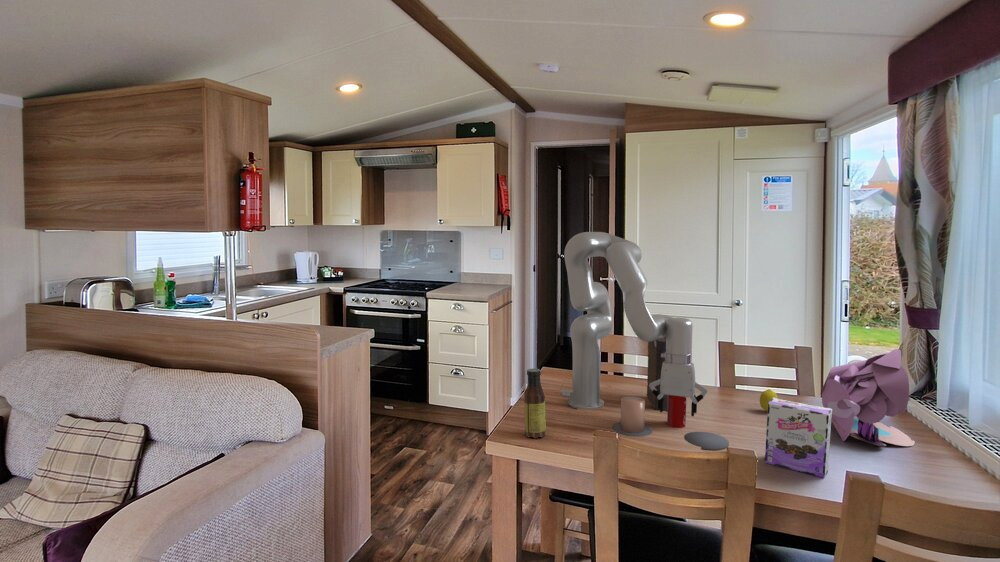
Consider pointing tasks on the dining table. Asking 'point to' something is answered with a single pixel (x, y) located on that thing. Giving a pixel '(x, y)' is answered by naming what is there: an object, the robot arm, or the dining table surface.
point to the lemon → (767, 398)
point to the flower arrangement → (868, 398)
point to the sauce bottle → (534, 405)
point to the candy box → (798, 436)
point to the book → (656, 370)
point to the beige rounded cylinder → (632, 414)
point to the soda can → (676, 411)
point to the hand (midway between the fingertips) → (677, 412)
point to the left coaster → (646, 432)
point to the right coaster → (707, 440)
